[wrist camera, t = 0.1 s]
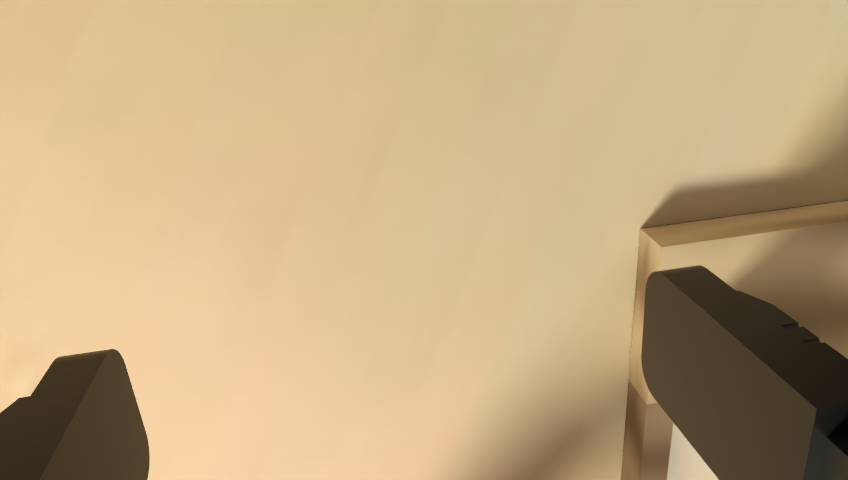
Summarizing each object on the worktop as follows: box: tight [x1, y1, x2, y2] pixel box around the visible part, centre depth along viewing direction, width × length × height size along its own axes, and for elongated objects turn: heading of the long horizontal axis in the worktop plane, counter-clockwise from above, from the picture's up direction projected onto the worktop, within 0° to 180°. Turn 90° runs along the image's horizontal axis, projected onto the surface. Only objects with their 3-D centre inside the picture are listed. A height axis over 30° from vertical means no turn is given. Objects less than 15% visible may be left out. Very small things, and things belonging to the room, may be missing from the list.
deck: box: [621, 201, 848, 480], centre depth 35 cm, size 22×12×2 cm, turn 4°
